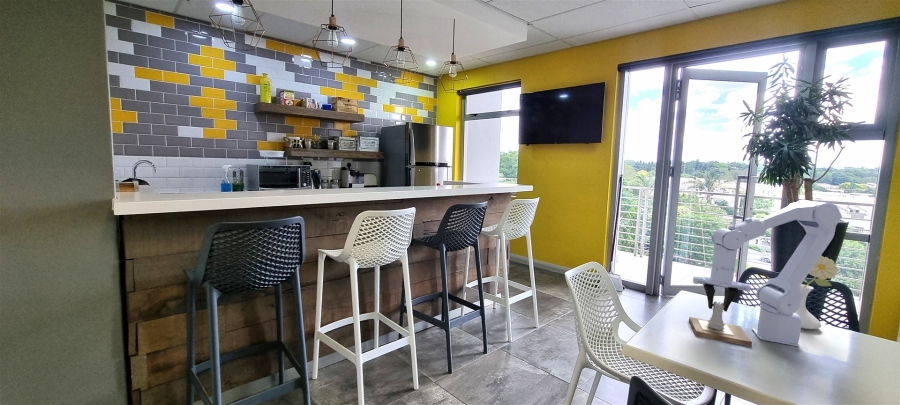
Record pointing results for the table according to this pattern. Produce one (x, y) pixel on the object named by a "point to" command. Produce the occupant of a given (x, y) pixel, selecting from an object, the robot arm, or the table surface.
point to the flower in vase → (821, 270)
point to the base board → (720, 332)
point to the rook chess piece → (717, 317)
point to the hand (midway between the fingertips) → (717, 309)
